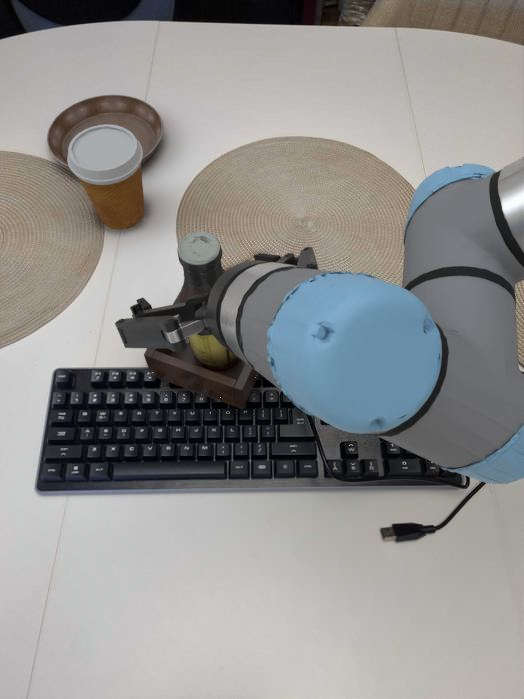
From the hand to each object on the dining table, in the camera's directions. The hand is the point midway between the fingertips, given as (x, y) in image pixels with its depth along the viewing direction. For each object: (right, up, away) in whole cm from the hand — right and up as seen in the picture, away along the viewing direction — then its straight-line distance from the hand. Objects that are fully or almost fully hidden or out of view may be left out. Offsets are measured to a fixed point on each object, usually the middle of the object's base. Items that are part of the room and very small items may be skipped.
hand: (203, 287), depth 59 cm
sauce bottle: (+1, -7, +8) cm, 11 cm away
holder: (+1, -7, +9) cm, 11 cm away
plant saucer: (-18, +25, +27) cm, 41 cm away
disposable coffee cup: (-14, +13, +20) cm, 28 cm away
